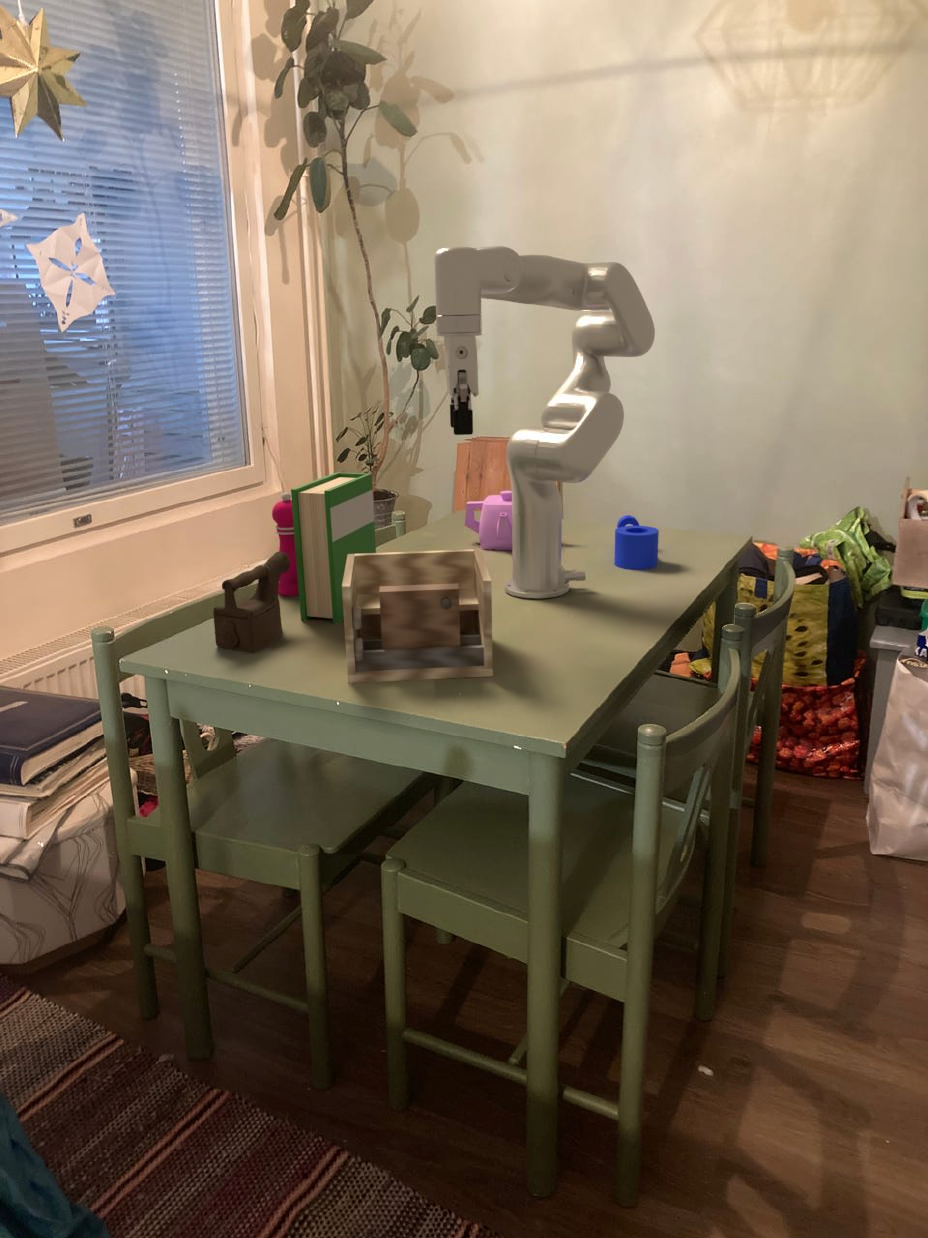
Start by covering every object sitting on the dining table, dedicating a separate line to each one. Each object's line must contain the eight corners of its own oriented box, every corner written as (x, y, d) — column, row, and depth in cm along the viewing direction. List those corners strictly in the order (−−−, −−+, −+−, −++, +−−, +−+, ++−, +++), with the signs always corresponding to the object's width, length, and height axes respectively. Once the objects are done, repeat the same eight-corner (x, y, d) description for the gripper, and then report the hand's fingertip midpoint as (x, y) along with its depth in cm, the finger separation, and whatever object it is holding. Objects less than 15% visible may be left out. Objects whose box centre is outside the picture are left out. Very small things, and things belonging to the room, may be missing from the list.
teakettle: (511, 531, 241) (510, 481, 237) (558, 543, 228) (559, 491, 224) (456, 543, 231) (455, 491, 227) (503, 556, 218) (502, 501, 215)
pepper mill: (277, 587, 198) (269, 489, 192) (313, 585, 199) (306, 488, 193) (273, 597, 192) (265, 496, 185) (310, 595, 192) (303, 495, 186)
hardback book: (337, 623, 175) (329, 491, 168) (301, 620, 178) (290, 489, 170) (378, 595, 191) (371, 473, 184) (344, 593, 194) (336, 472, 186)
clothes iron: (307, 626, 174) (301, 553, 170) (251, 655, 161) (244, 576, 157) (270, 621, 178) (264, 549, 174) (213, 648, 164) (205, 571, 160)
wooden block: (459, 656, 155) (457, 583, 151) (461, 665, 151) (459, 591, 147) (383, 659, 154) (379, 586, 150) (382, 669, 150) (379, 594, 146)
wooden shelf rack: (481, 635, 168) (480, 548, 163) (492, 676, 149) (491, 580, 145) (353, 640, 166) (347, 554, 162) (347, 682, 148) (341, 586, 143)
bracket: (660, 570, 205) (661, 534, 202) (616, 571, 205) (617, 535, 203) (647, 547, 223) (648, 514, 221) (607, 548, 224) (607, 515, 221)
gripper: (486, 327, 154) (487, 436, 160) (477, 324, 171) (479, 423, 176) (438, 328, 154) (441, 438, 159) (434, 325, 170) (437, 425, 176)
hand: (461, 430), depth 168 cm, fingers open, 9 cm apart
